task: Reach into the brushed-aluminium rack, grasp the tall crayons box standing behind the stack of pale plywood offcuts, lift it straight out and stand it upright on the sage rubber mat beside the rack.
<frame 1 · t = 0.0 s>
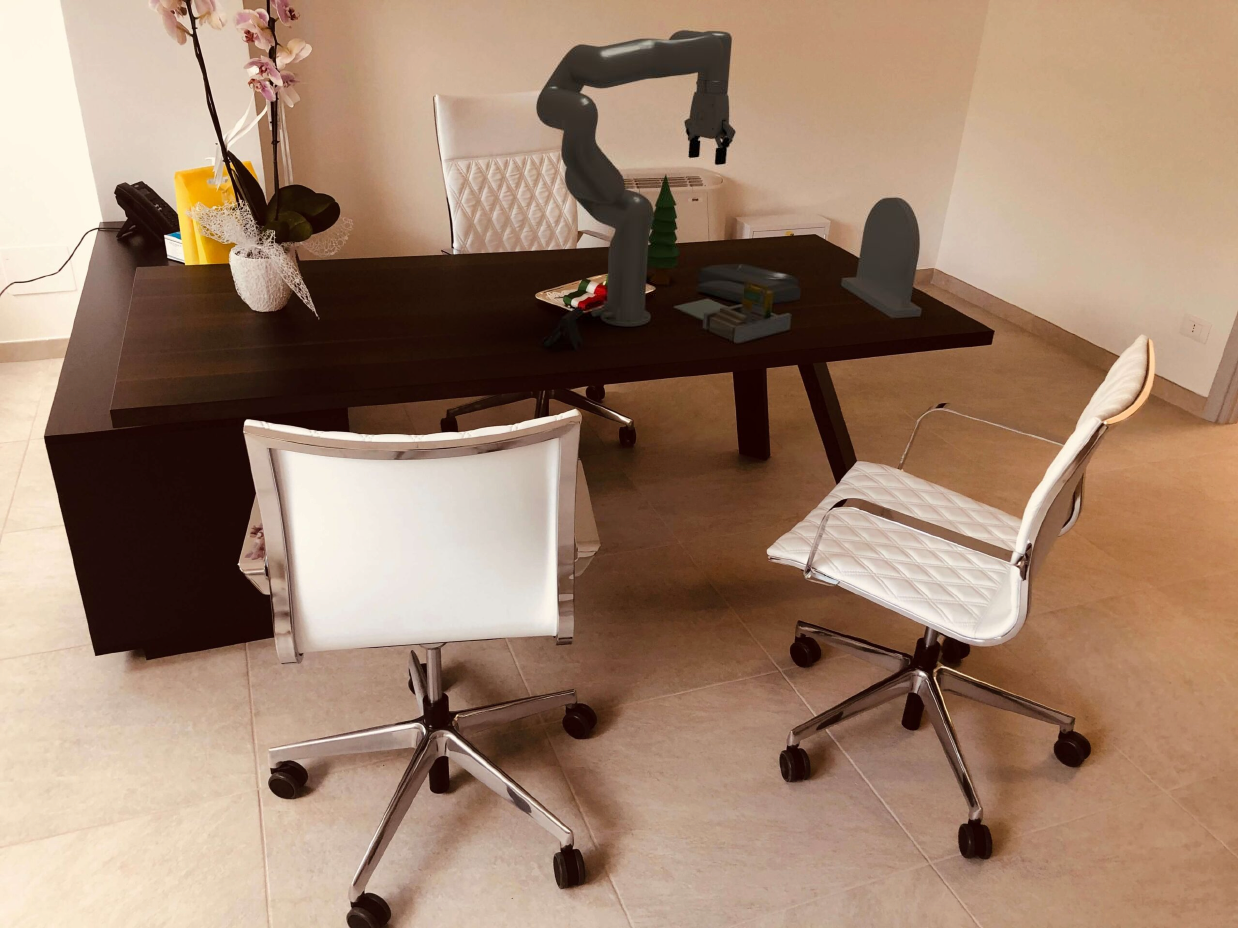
hand: (706, 161, 240), 37 cm above the table, tool pointing down, fingers open, 9 cm apart
gray tombstone: (879, 301, 265), on the table
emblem: (747, 293, 268), on the table
crayon box: (754, 327, 242), resting in rack
portable electronic device stand: (564, 345, 227), on the table
decorative tree: (660, 281, 274), on the table
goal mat: (706, 310, 252), on the table
offcut stack: (727, 334, 237), on the table
rack: (746, 329, 241), on the table
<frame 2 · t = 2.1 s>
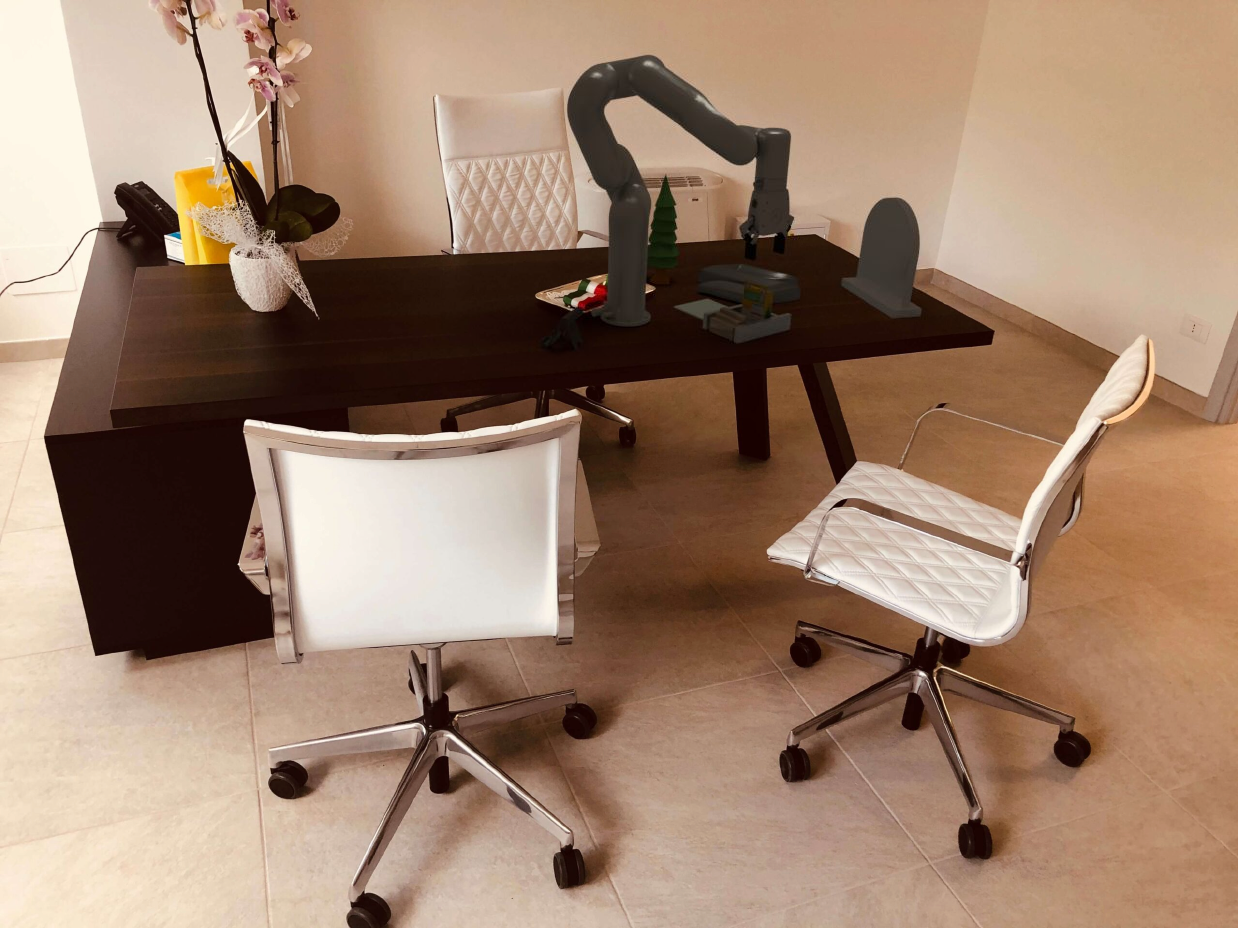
hand: (764, 256, 234), 18 cm above the table, tool pointing down, fingers open, 9 cm apart
nothing on the table moved.
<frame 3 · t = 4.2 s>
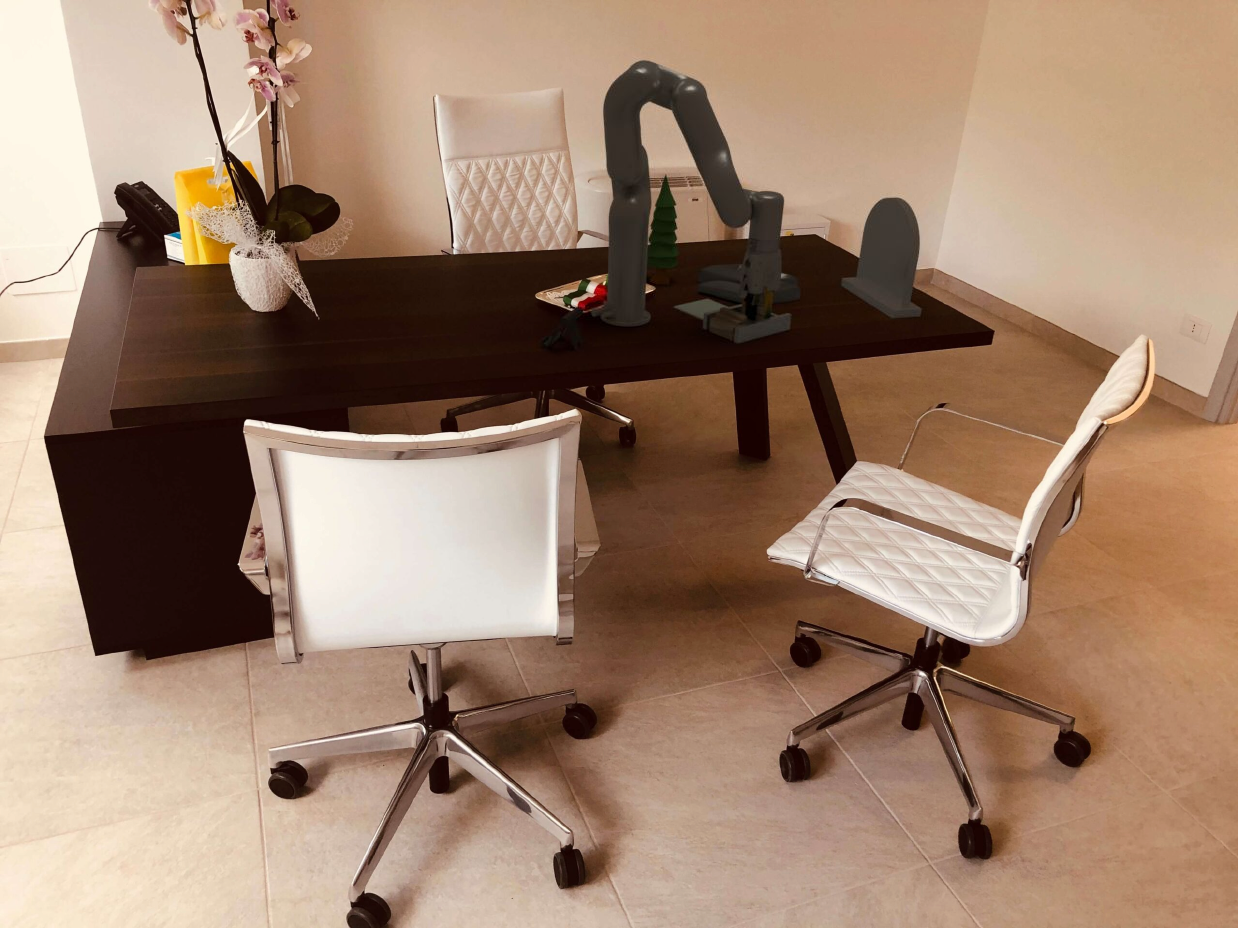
hand: (755, 316, 241), 3 cm above the table, tool pointing down, fingers closed on crayon box, 3 cm apart
crayon box: (754, 327, 242), resting in rack, touching gripper
everything else where it was.
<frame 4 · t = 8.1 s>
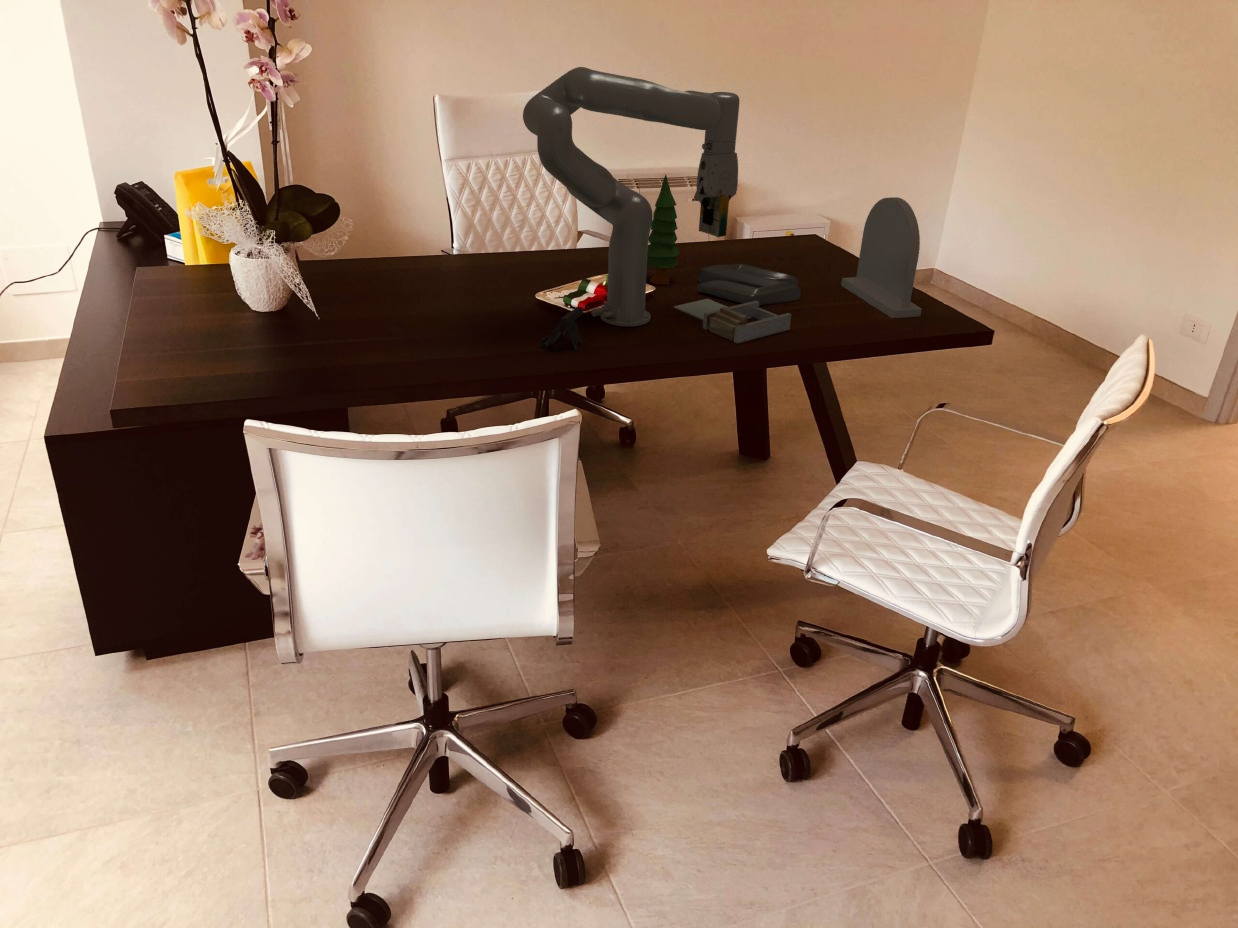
hand: (712, 222, 241), 23 cm above the table, tool pointing down, fingers closed on crayon box, 3 cm apart
crayon box: (712, 234, 243), point 20 cm above the table, touching gripper
everything else where it was.
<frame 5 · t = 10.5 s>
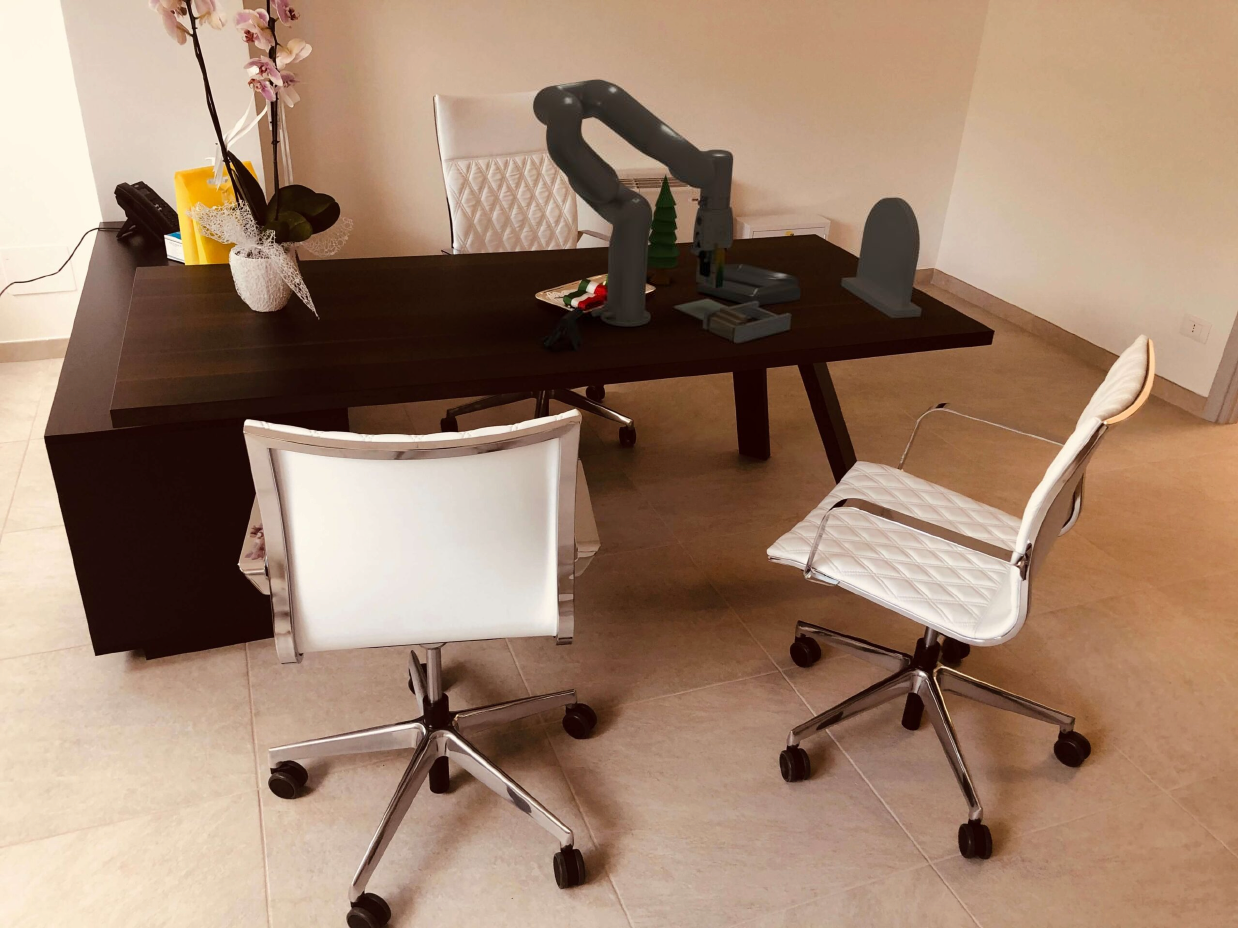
hand: (709, 274, 248), 10 cm above the table, tool pointing down, fingers closed on crayon box, 3 cm apart
crayon box: (709, 285, 249), point 7 cm above the table, touching gripper
everything else where it was.
when the fingers open (4 cm above the table, at t = 12.3 s): crayon box drops 1 cm, resting on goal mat.
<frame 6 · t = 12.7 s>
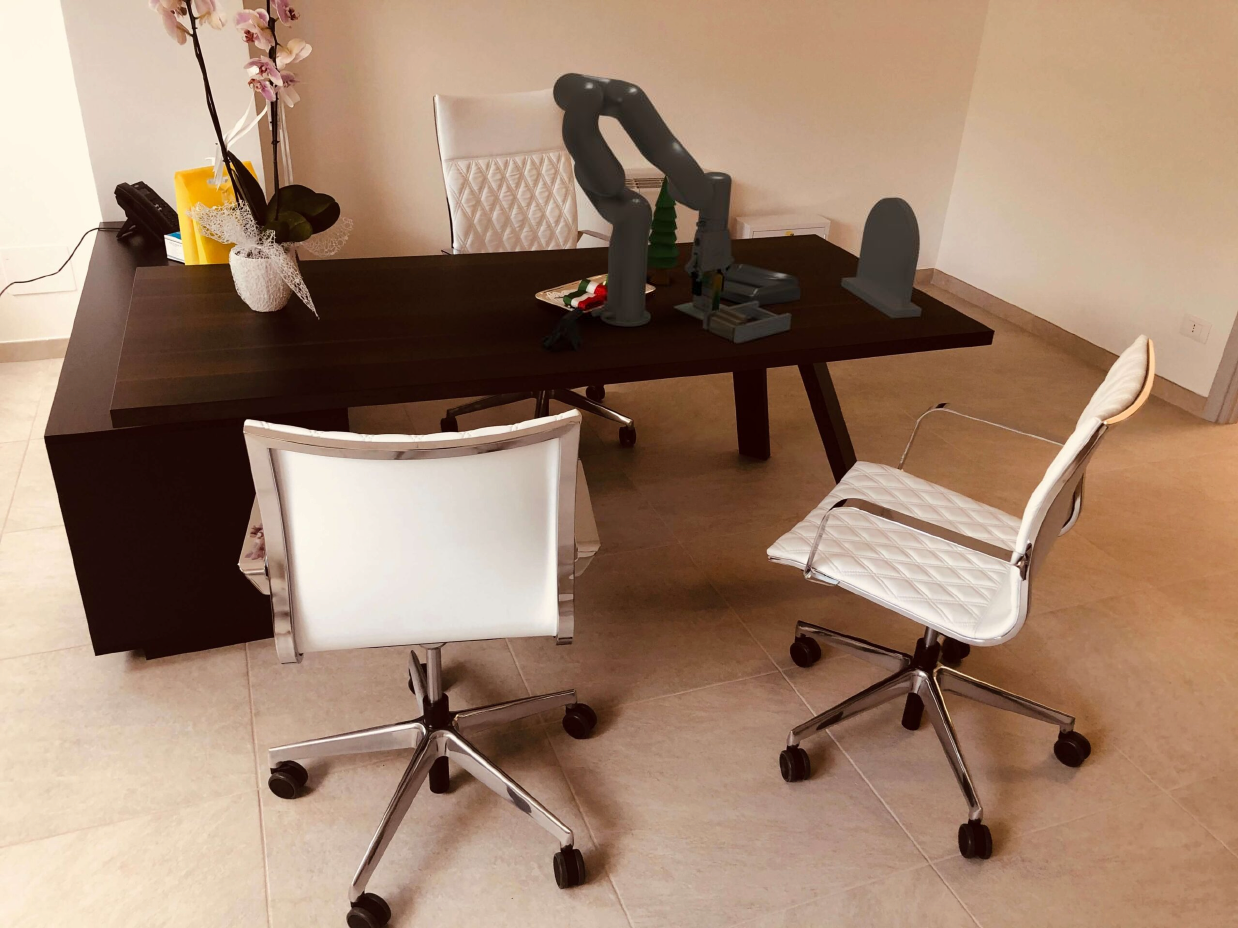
hand: (707, 292, 250), 5 cm above the table, tool pointing down, fingers open, 7 cm apart
crayon box: (705, 309, 252), resting on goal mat
everything else where it was.
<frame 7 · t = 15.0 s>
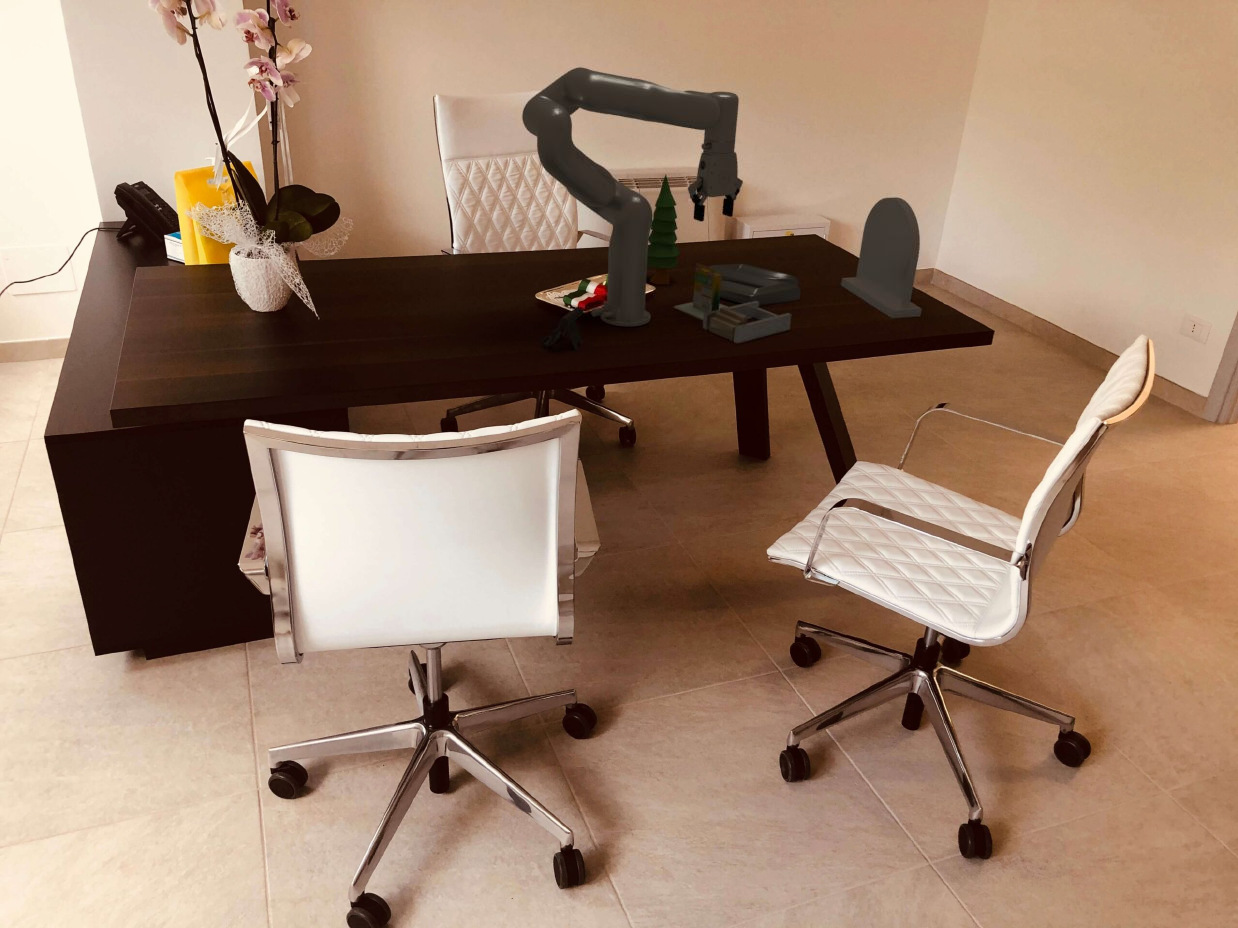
hand: (713, 218, 241), 24 cm above the table, tool pointing down, fingers open, 9 cm apart
nothing on the table moved.
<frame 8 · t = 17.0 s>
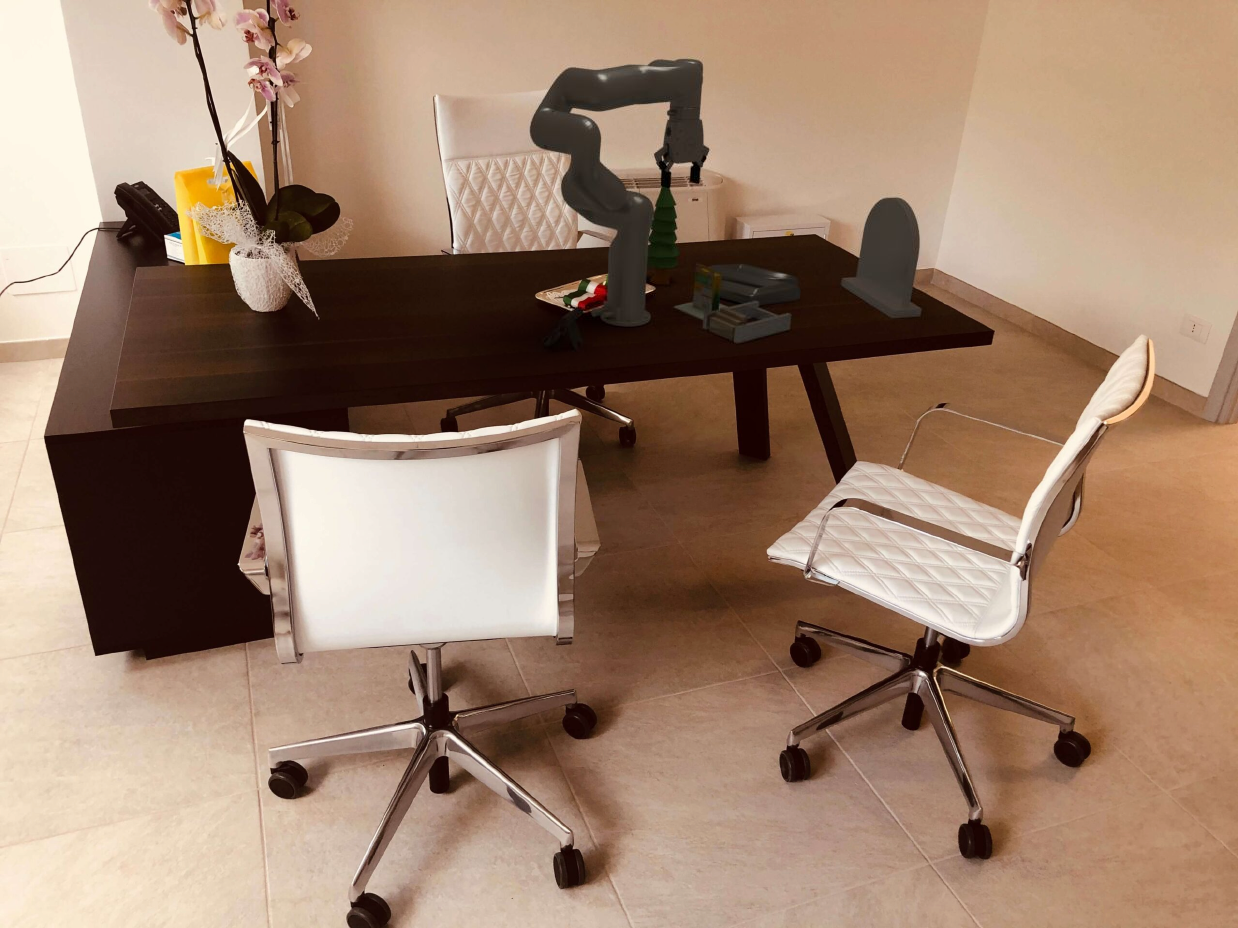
hand: (680, 185, 244), 30 cm above the table, tool pointing down, fingers open, 9 cm apart
nothing on the table moved.
at the end: crayon box inside the target area (0.1 cm from its centre), resting on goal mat; crayon box tilted 0°; the gripper is holding nothing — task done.
